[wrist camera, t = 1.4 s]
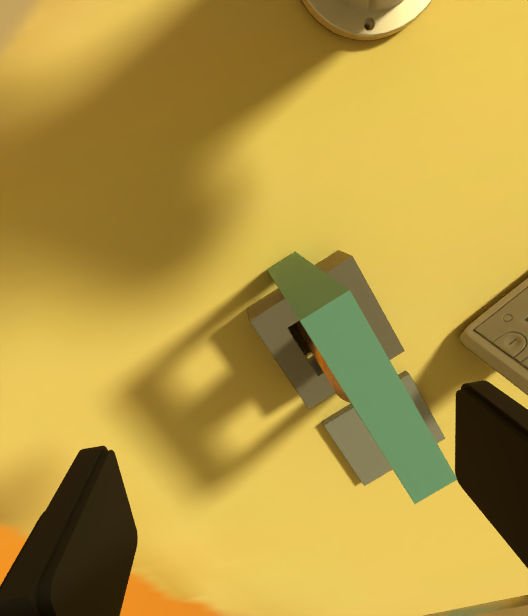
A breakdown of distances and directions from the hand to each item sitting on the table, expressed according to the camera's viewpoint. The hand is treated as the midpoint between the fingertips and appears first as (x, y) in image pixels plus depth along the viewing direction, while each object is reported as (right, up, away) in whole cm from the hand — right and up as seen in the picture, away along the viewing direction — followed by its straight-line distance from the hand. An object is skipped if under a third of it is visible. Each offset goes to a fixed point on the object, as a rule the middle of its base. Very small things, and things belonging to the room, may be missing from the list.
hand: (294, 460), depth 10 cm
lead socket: (+4, +3, +27) cm, 27 cm away
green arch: (+4, +3, +27) cm, 27 cm away
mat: (+12, -9, +31) cm, 34 cm away
